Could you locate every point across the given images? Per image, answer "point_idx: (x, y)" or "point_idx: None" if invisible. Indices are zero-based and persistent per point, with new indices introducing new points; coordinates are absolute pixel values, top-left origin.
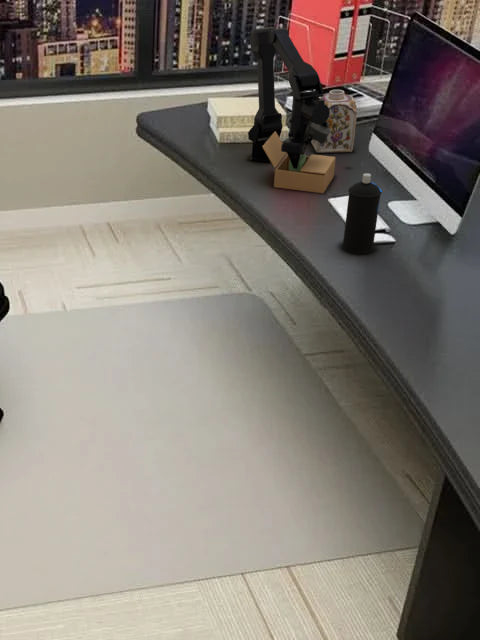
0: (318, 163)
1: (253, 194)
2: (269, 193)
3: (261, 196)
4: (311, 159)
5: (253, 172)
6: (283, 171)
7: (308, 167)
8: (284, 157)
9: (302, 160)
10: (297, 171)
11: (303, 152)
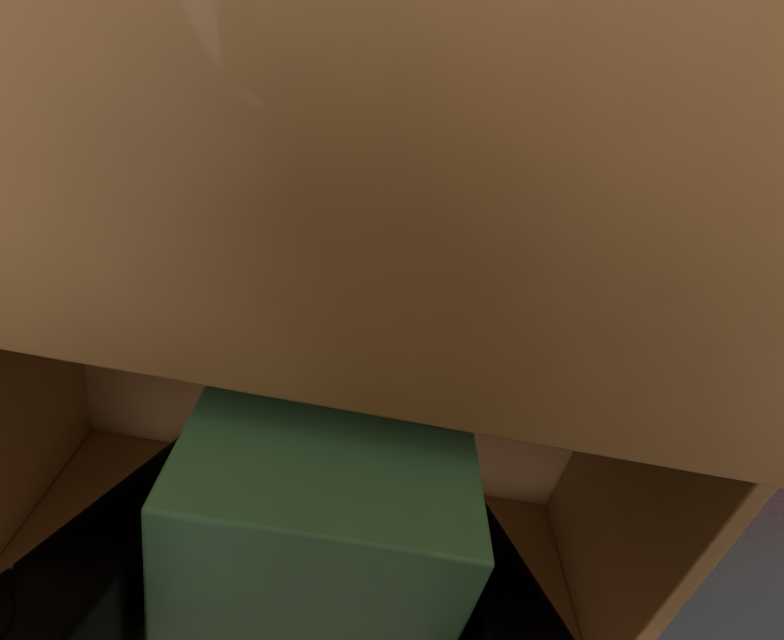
0: (416, 115)
1: (706, 615)
2: None
3: (764, 573)
4: (144, 307)
5: None
6: (656, 628)
7: (711, 363)
8: None
9: (486, 542)
10: None
11: (99, 602)
